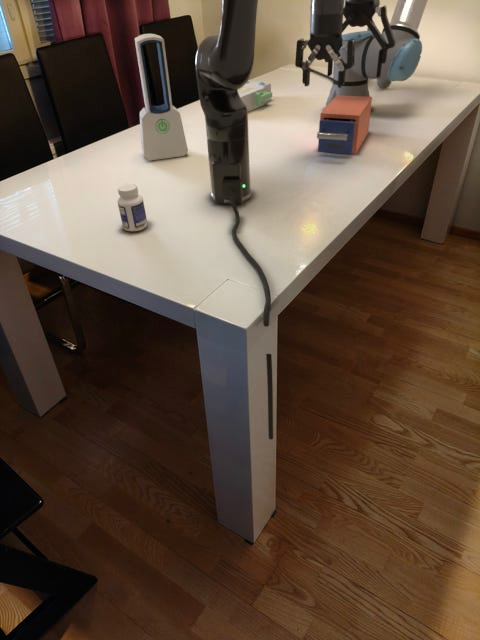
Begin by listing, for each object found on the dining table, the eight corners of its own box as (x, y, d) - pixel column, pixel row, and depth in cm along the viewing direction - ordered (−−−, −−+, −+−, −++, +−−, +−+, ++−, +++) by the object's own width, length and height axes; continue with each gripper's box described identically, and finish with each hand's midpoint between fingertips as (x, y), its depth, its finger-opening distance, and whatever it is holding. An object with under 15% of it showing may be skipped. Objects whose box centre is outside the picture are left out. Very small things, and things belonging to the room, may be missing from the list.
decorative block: (236, 77, 186) (280, 82, 177) (237, 95, 190) (280, 101, 181) (193, 93, 170) (239, 99, 161) (195, 112, 174) (240, 119, 165)
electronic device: (145, 161, 137) (124, 39, 118) (142, 153, 142) (122, 35, 124) (188, 155, 139) (175, 34, 121) (184, 147, 145) (170, 31, 126)
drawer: (347, 161, 127) (350, 129, 122) (312, 158, 130) (314, 127, 125) (363, 133, 144) (366, 104, 139) (332, 131, 147) (334, 103, 142)
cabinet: (355, 154, 134) (359, 115, 128) (318, 151, 137) (320, 113, 131) (368, 132, 148) (372, 96, 141) (334, 130, 151) (336, 95, 145)
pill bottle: (149, 220, 107) (142, 181, 102) (146, 231, 103) (138, 191, 98) (125, 221, 107) (116, 182, 102) (121, 232, 103) (112, 193, 98)
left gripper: (361, 8, 113) (354, 84, 123) (302, 9, 118) (300, 81, 128) (354, 12, 108) (347, 91, 118) (292, 13, 113) (291, 88, 123)
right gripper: (414, -19, 122) (401, 73, 135) (316, -16, 130) (313, 71, 143) (411, -17, 117) (397, 80, 130) (309, -14, 124) (306, 77, 138)
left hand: (323, 86), depth 123 cm, fingers open, 8 cm apart
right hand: (353, 75), depth 136 cm, fingers open, 13 cm apart
